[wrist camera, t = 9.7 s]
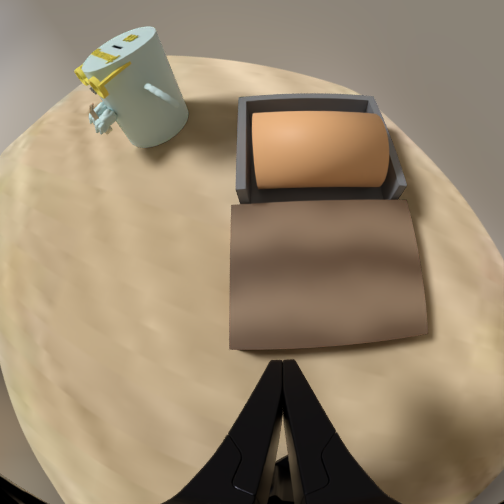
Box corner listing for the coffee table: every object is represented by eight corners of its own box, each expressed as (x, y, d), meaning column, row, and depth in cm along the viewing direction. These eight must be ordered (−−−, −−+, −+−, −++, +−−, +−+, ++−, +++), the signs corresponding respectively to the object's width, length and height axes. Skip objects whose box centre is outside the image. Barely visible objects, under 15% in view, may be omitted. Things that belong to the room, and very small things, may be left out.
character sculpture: (92, 131, 34) (47, 73, 22) (148, 85, 36) (118, 22, 23) (154, 198, 28) (87, 114, 15) (231, 132, 30) (205, 34, 17)
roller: (396, 158, 18) (373, 200, 25) (373, 98, 20) (360, 144, 27) (252, 158, 19) (260, 202, 26) (252, 97, 21) (259, 145, 28)
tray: (391, 209, 25) (407, 185, 20) (243, 214, 26) (235, 189, 22) (365, 123, 28) (373, 96, 24) (244, 125, 30) (238, 97, 26)
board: (415, 335, 21) (428, 333, 18) (235, 348, 22) (229, 349, 20) (397, 211, 24) (406, 199, 22) (236, 217, 26) (231, 205, 24)
